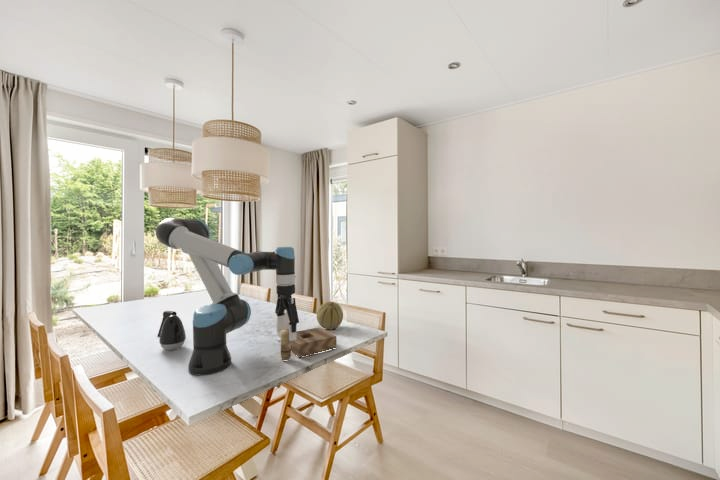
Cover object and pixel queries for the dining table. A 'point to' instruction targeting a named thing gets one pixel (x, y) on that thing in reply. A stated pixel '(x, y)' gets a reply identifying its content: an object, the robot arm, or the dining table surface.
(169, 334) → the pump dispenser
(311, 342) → the wooden block with hole
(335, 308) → the cantaloupe
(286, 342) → the peg
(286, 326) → the jar
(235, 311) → the robot arm
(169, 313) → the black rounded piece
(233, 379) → the dining table surface
